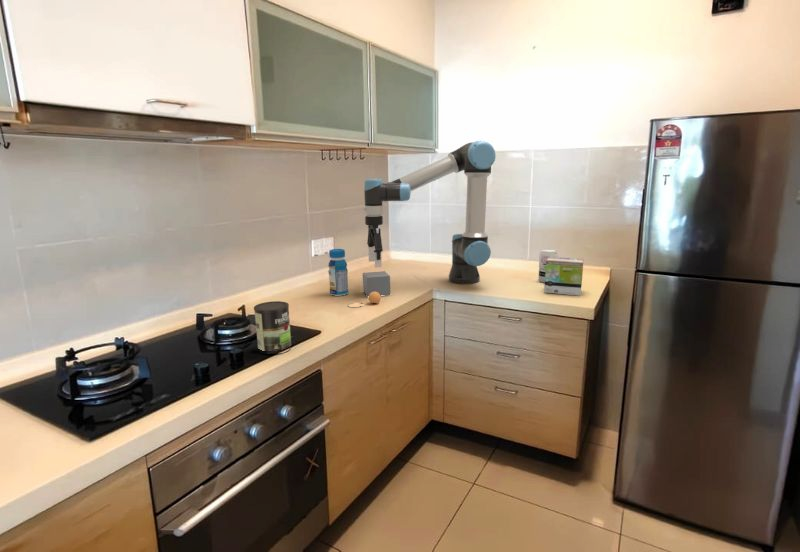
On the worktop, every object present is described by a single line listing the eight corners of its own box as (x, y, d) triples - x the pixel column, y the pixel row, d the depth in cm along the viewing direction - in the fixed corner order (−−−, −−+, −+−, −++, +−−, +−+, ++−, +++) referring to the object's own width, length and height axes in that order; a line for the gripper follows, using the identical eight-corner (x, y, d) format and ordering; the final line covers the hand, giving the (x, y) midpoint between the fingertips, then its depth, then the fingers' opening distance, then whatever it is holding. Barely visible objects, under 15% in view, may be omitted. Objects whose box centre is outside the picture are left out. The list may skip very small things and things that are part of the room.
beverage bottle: (345, 296, 202) (343, 251, 197) (327, 296, 203) (324, 251, 199) (351, 291, 210) (349, 248, 205) (333, 291, 211) (330, 248, 207)
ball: (367, 302, 192) (367, 290, 191) (379, 301, 194) (379, 289, 192) (370, 305, 188) (369, 293, 187) (382, 304, 189) (381, 292, 188)
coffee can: (298, 345, 146) (295, 302, 143) (277, 357, 137) (273, 312, 134) (273, 341, 151) (269, 299, 148) (250, 352, 142) (246, 308, 138)
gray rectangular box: (363, 291, 209) (362, 272, 207) (385, 289, 212) (384, 271, 210) (367, 297, 200) (366, 277, 198) (390, 295, 202) (389, 275, 200)
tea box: (543, 293, 200) (545, 260, 197) (545, 288, 209) (547, 255, 206) (581, 296, 194) (583, 261, 191) (581, 290, 204) (583, 257, 200)
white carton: (554, 279, 224) (555, 249, 221) (558, 283, 216) (559, 252, 213) (537, 279, 225) (538, 249, 221) (540, 283, 217) (541, 252, 213)
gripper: (360, 213, 209) (361, 259, 214) (371, 218, 185) (372, 270, 190) (376, 212, 211) (377, 258, 215) (389, 217, 187) (390, 269, 192)
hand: (375, 264), depth 203 cm, fingers open, 13 cm apart
